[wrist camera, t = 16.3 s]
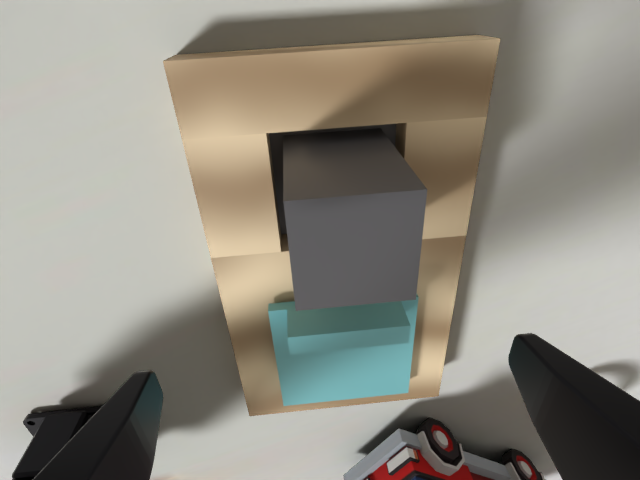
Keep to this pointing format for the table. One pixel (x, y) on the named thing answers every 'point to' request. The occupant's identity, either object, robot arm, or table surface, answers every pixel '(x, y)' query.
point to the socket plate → (315, 117)
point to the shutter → (343, 350)
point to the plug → (351, 219)
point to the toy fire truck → (436, 459)
